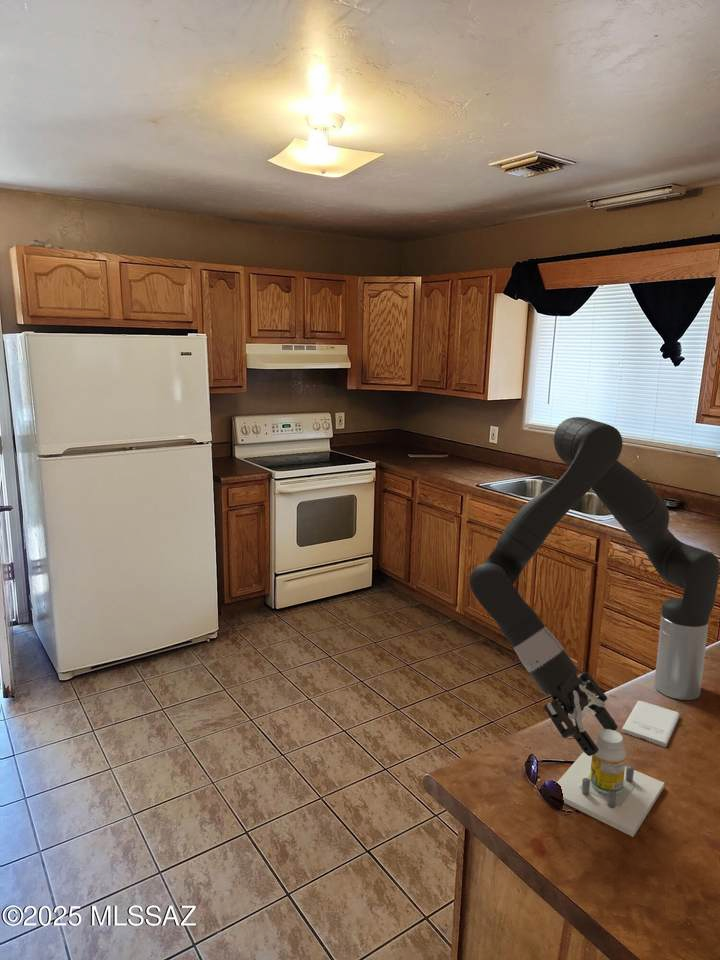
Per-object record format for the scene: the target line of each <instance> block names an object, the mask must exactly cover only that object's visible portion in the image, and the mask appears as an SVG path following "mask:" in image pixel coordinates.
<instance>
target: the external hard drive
mask: <svg viewBox="0 0 720 960" xmlns="http://www.w3.org/2000/svg"><path fill="white" fill-rule="evenodd" d="M626 719H627V720H626V722H625V723H624V724H623V726H622V728H621V733H622V732H624V733H623V734H625V733H627V734H626V735H628V734H629V735H628V736H631V735H632V737H634V736H635V737H634V738H637V737H638V738H637V739H641V738H642V740H644V739H645V740H644V741H647V742H648V741H649V743H651V742H652V743H651V744H654V745H658V746H660V747H663V748H666V747H667V746H668V744H669V741H670V739H671V736H672V735H673V732H674V729H675V728H676V726H677V723H678V721H679V720H680V713H679V712H678V711H674V710H671V709H668V708H666V707H663V706H659V705H656V704H653V703H650V702H646V701H643V700H637V702H636V704H635V705H634V707H633V709H632V710H631V712H630V714H629V716H628V718H626Z"/></svg>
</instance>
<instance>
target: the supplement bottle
mask: <svg viewBox="0 0 720 960" xmlns="http://www.w3.org/2000/svg"><path fill="white" fill-rule="evenodd" d="M596 739H597V740H596V741H594V743H595V745H596V746H597V747H598V752H597V753H596V754H594V755H592V761H591V775H590V782H591V784H592V786H593V787H594V788H595V789H596V790H597V791H599V792H601V793H603V794H607V795H608V792H609V790H614V791H615V792H616V794H619V793H620V792H621V791H622V790H623V785H624V771H625V766H626V759H627V752H626V750H625V747H624V746H623V745H624V737H623V736H622V734H620V732H619V731H617V730H615V731H614V730H610V729H604V728H603V729H599V730H598V732H597V737H596Z"/></svg>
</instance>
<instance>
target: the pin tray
mask: <svg viewBox="0 0 720 960" xmlns="http://www.w3.org/2000/svg"><path fill="white" fill-rule="evenodd" d="M591 761H592V755H591V756H588V755H587V754H586V753H585V752H584V751H583V752H582V753H580V755H579V756H578V758H577V759H576V760H575V761H574V762H572V765H570V767H569V768H568V769H567V770H566V771H565V772H564V773H563V775H562V776H561V777H560V778H559V779H558V780H557V782H556V783H558V784H559V785H560V786H561V789H562V793H563V800H564V804H566V805H568V806H569V807H572V808H574V809H576V810H578V811H579V812H581V813H584V814H586V815H588V816H589V817H592V818H593V819H596V820H597V821H600V822H602V823H604V824H606V825H608V826H610V827H612V828H614V829H616V830H618V831H620V832H622V833H624V834H626V835H629V836H630V837H632V838H634V837H635V835H636V833H638V830H639V828H640V827H641V826H642V824H643V822H644V821H645V819H646V817H647V816H648V814H649V813H650V811H651V809H652V807H653V806H654V804H655V803H656V801H657V800H658V798H659V796H660V795H661V793H662V791H663V790H664V788H665V782H664V781H661V780H659V779H657V778H655V777H652V776H649V775H647V774H645V773H642V772H640V771H638V770H635V767H633V766H632V765H625V771H624V785H623V790H622V791H621V792H620V793H619V794H616V792H615V791H614V790H609V792H608V795H607V794H603V793H601V792H599V791H597V790H596V789H595V788H594V787H593V786H592V784H591V782H590V775H591Z"/></svg>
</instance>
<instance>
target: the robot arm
mask: <svg viewBox="0 0 720 960" xmlns="http://www.w3.org/2000/svg"><path fill="white" fill-rule="evenodd" d="M623 443H624V442H623V437H622V435H621V432H620V431H619V430H618V428H616V427H614V425H610V424H608V423H605V422H601V421H597V420H594V419H591V418H588V417H581V416H580V417H579V416H574V417H568V418H566V419H565V420H563V421H561V422H560V423H559V424H558V425H557V427H556V429H555V432H554V434H553V446H554V449H555V451H556V454H557V456H558V457H559V459H560V460H561V461H563V462H564V463H565V464H566V466H568V468H567V469H566V471H565V472H564V474H563V475H561V477H560V478H559V479H558V480H557V481H555V482H554V483H553V484H552V485H551V486H550V487H548V488H547V489H545V490H544V491H543V492H541V493H539V494H538V495H537V496H535V497H533V498H532V499H530V500H529V501H527V502H526V503H525V504H524V505H523V506H522V507H520V509H519V510H518V511H517V512H516V514H515V515H514V516H513V517H512V518H511V520H510V521H509V522H508V524H507V526H506V527H505V528H504V530H503V531H502V533H501V534H500V535H499V537H498V539H497V542H496V545H495V547H494V549H493V550H492V552H491V553H490V554H489V556H487V558H486V560H485V561H484V562H483V563H481V564H479V565H477V566H476V567H474V568H473V570H472V571H471V572H470V576H469V582H468V583H469V588H470V590H471V592H472V594H473V595H474V597H475V598H476V600H477V601H478V602H479V604H480V605H481V606H482V608H483V609H484V610H485V611H486V612H487V614H488V615H489V616H490V617H491V618H492V619H493V621H495V623H496V624H497V626H498V627H499V629H500V630H501V632H502V634H503V636H505V638H506V640H507V641H508V642H509V644H510V646H512V648H513V650H514V651H515V653H516V655H517V657H518V658H519V660H520V662H521V664H522V665H523V666H524V668H525V669H526V670H527V672H528V674H529V675H530V676H531V678H532V679H533V681H534V682H535V683H536V685H537V686H538V688H539V689H540V690H541V693H543V694H549V695H550V697H551V700H552V701H550V702H548V703H546V704H544V705H543V708H544V710H545V712H546V713H547V715H548V717H549V718H550V719H551V721H552V723H553V725H554V726H555V728H556V729H557V731H558V732H559V734H560V736H562V738H563V739H567V738H570V737H571V738H573V739H574V740H575V741H576V743H577V744H578V746H579V747H580V749H581V750H582V751H583V752H585V753H586V754H587V755H588V756H591V755H594V754H596V753H597V752H598V747H597V746H596V745H595V741H594V740H593V739H592V738H591V736H590V735H589V733H588V731H587V730H586V729H584V724H583V720H582V719H583V712H582V711H584V709H587V710H589V711H590V712H592V713H593V714H594V717H595V718H596V720H597V721H598V722H599V723H600V725H601V726H602V728H603V729H610V730H614V731H617V729H618V724H617V723H616V721H615V719H614V718H613V717H612V716H611V714H610V713H609V711H608V710H607V709H606V703H605V702H606V701H607V700H608V697H607V695H606V694H605V692H604V691H603V689H601V687H600V686H599V685H598V683H596V680H594V678H593V677H592V676H591V675H590V673H589V672H588V671H583V672H581V673H579V674H577V673H578V672H579V671H578V670H579V669H578V666H576V664H575V663H574V661H573V659H572V658H571V657H570V655H569V654H568V653H567V651H565V648H564V647H563V646H562V645H561V644H560V642H559V641H558V639H557V638H556V637H555V636H554V634H553V633H552V632H551V631H550V630H549V629H548V628H547V626H546V625H545V624H544V623H543V621H542V620H541V619H540V617H539V615H538V614H537V613H536V612H535V610H534V609H533V608H532V607H531V606H530V605H529V604H528V603H527V602H525V600H524V599H523V598H522V596H521V595H520V593H519V591H518V590H517V588H516V587H515V586H514V585H515V583H516V581H517V580H518V578H519V577H520V575H521V573H522V571H523V570H524V568H525V566H526V565H527V563H528V562H529V561H530V560H531V559H532V558H533V557H534V555H535V554H536V553H537V551H538V550H539V548H540V547H541V546H542V544H543V543H544V542H545V540H546V539H547V538H548V536H550V534H551V532H552V531H553V530H554V528H555V527H556V526H557V524H558V523H559V522H560V521H561V519H563V517H565V515H566V514H567V513H568V512H570V510H571V509H572V508H573V507H574V506H575V505H576V504H577V503H578V502H579V501H580V500H581V499H582V498H583V497H585V495H586V494H587V493H588V492H589V491H590V490H592V491H593V492H594V494H595V495H596V496H597V498H598V500H600V502H602V504H603V505H604V506H605V507H606V508H607V510H608V512H610V514H611V515H612V516H613V517H614V519H615V520H616V521H617V523H619V525H620V526H621V527H622V528H623V529H624V530H625V531H626V533H627V534H628V535H629V536H630V537H631V539H633V540H634V542H636V544H637V545H638V546H639V547H640V549H642V551H643V552H644V554H646V556H647V559H648V560H649V561H650V563H651V565H652V566H653V568H654V570H656V572H657V574H658V575H659V576H660V577H661V578H662V579H663V580H664V581H666V583H669V584H671V585H673V586H676V587H678V588H681V589H683V595H682V597H673V598H668V599H665V600H664V602H662V604H661V613H660V625H659V634H658V644H657V645H658V646H657V656H656V662H655V663H656V666H655V674H654V683H653V685H654V688H655V689H656V690H657V691H658V692H659V693H661V694H662V695H664V696H667V697H669V698H672V699H676V700H681V701H682V700H683V701H693V700H696V699H699V698H700V696H701V692H702V691H701V690H702V680H703V675H704V674H703V673H704V667H705V666H704V665H705V655H706V649H707V648H706V647H707V639H708V630H709V620H710V616H711V614H712V612H713V609H714V607H715V606H714V605H715V602H716V601H715V600H716V596H717V591H718V584H719V579H720V560H719V558H718V557H717V556H716V555H715V554H714V553H713V552H710V551H707V550H705V549H703V548H699V547H696V546H693V545H690V544H687V543H684V542H682V541H680V540H679V539H678V538H677V537H676V536H675V535H674V534H673V533H672V532H671V530H669V523H670V512H669V509H668V507H667V505H666V503H665V502H664V501H663V499H662V498H661V497H660V495H659V493H657V492H656V490H654V488H653V487H652V486H651V485H650V484H649V483H648V482H646V480H644V479H643V478H642V477H641V476H640V475H638V474H637V473H635V471H633V470H631V469H630V468H628V467H627V466H625V465H624V464H622V463H621V462H620V461H619V457H620V455H621V453H622V450H623ZM593 692H595V693H593ZM597 695H598V696H597ZM563 723H564V724H565V726H566V728H565V726H564V725H563ZM574 724H575V725H574Z"/></svg>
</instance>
